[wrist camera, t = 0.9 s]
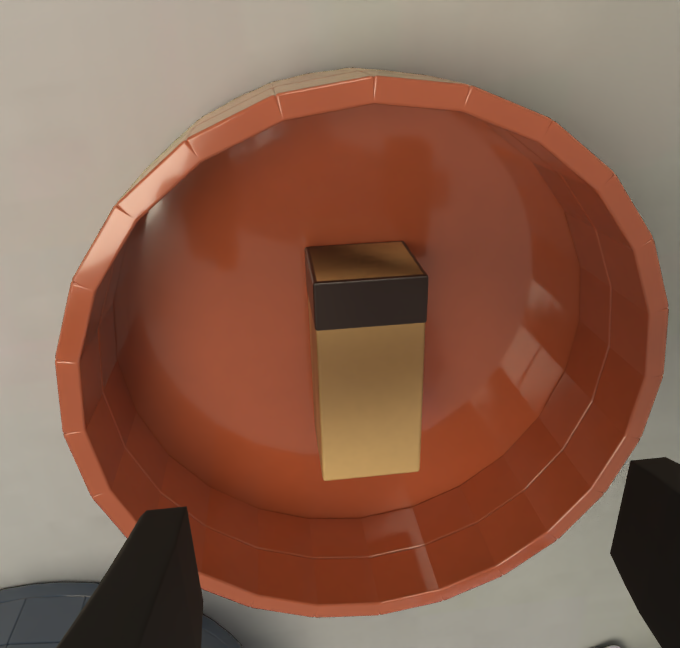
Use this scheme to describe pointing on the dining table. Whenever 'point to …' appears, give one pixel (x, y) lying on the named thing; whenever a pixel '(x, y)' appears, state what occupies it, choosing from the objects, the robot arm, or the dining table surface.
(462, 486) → the terracotta bowl
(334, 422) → the tan block dark cap
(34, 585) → the slate bowl
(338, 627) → the dining table surface
